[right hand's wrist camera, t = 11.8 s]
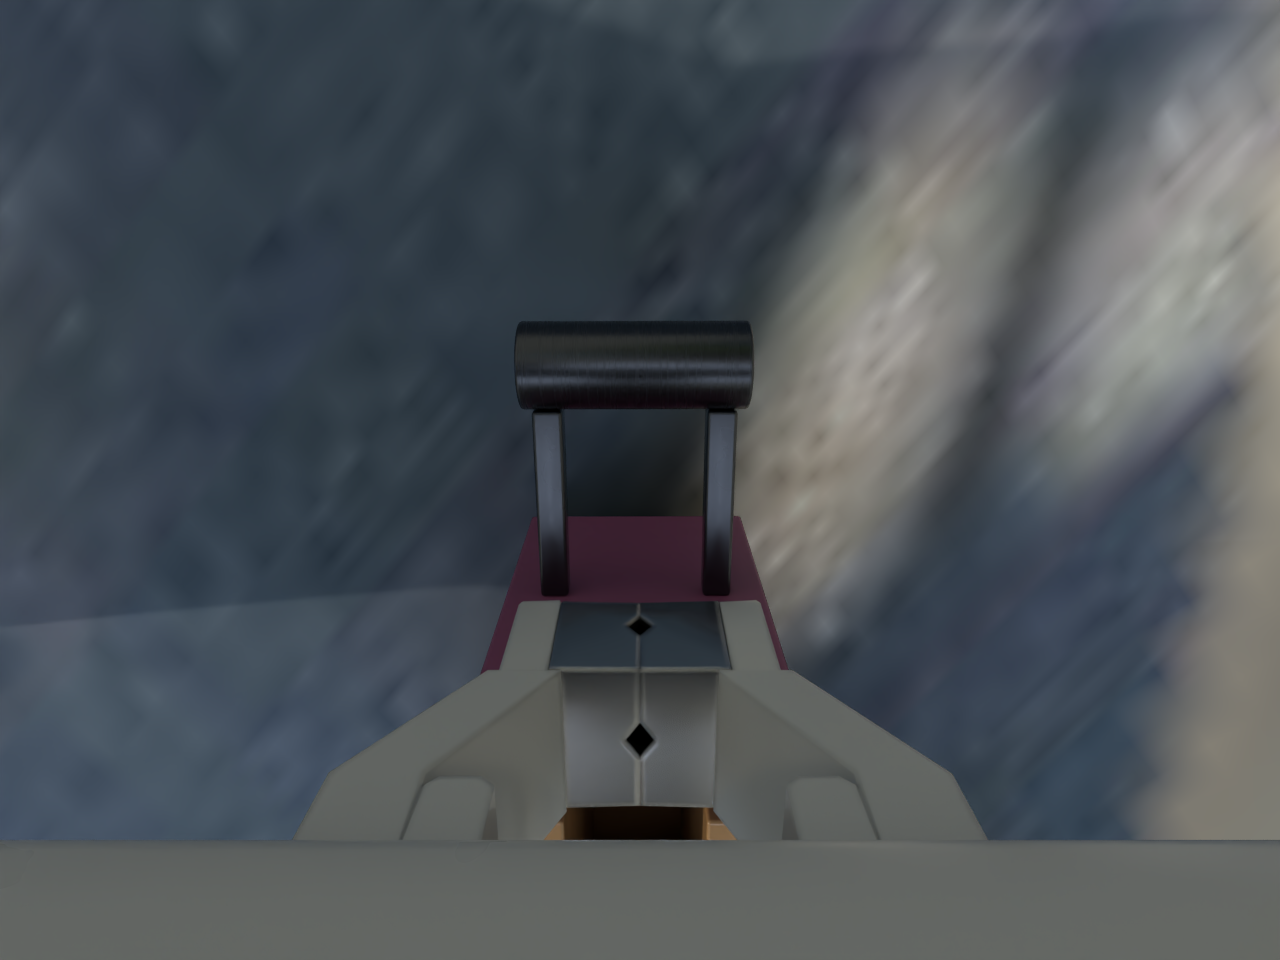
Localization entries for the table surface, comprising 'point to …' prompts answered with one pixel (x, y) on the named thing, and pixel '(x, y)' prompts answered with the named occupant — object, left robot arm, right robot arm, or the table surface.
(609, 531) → the drawer
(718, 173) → the table surface
